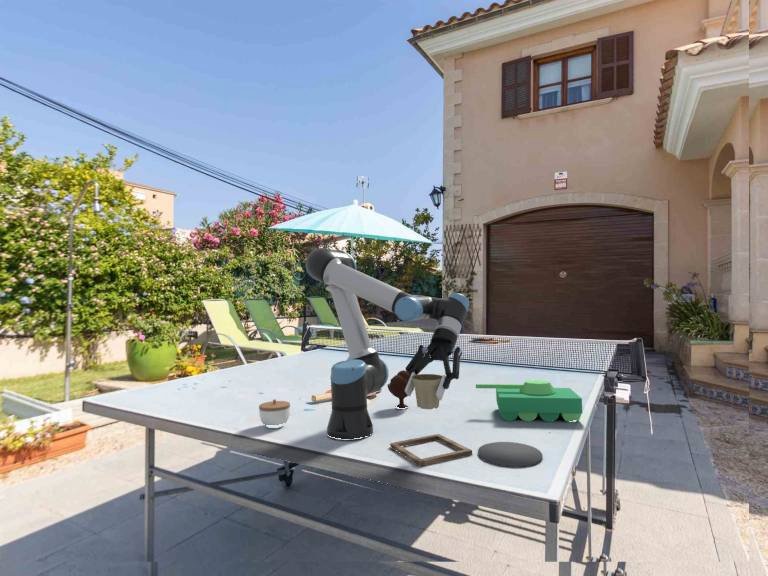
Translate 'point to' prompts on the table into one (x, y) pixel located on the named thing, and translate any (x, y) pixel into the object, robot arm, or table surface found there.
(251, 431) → the table surface
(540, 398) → the toy tank
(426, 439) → the walnut frame
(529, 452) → the rubber mat
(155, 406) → the table surface
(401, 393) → the ice cream bowl
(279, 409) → the lidded jar
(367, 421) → the robot arm
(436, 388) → the flower pot
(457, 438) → the table surface
